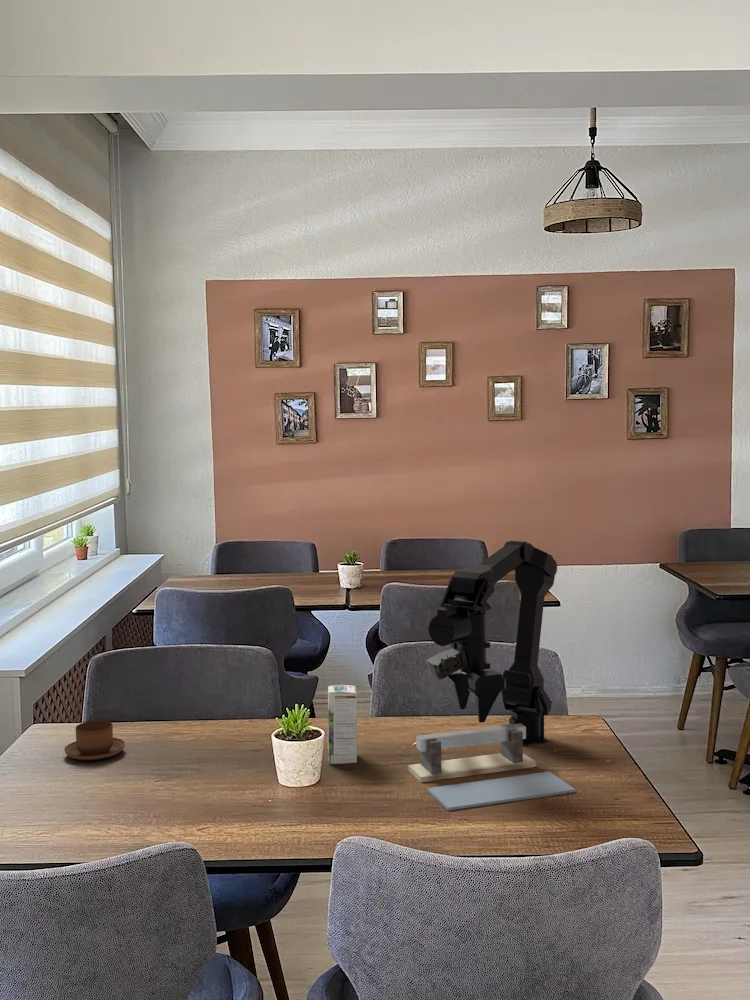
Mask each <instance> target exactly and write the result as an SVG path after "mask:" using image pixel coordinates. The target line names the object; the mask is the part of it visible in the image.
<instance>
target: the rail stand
mask: <svg viewBox="0 0 750 1000" xmlns="http://www.w3.org/2000/svg"><path fill="white" fill-rule="evenodd" d="M503 725H511V724H509V723H505V724H501V725H500V726H503ZM427 734H432V733H422V734H420V735H427ZM429 746H430V751H424V752H421V751H420V763H416V764H415V763H414V764H408V765H407V771H408V772H409V773H410V774H411V775H412V776H414V778H416V780H418V781H419V782H420V783H425V782H426V783H427V782H432V781H433V782H434V781H439V780H440V781H441V780H448V779H449V780H450V779H456V778H463V777H470V776H471V777H472V776H477V775H486V774H492V773H493V774H494V773H500V772H507V771H515V770H521V769H529V768H531V769H532V768H536V767H537V762H536V760H534V759H533V758H531V757H530V756H528V755H527V754H525V753H524V748H523V747H524V745H523V732H522V731H512V732H511V741H504V742H500V752H499V753H494V754H493V753H492V754H484V755H478V756H470V757H469V756H468V757H462V758H454V759H446V760H442V749H441V741H439V740H438V741H430V742H429Z"/></svg>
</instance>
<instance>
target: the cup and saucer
mask: <svg viewBox="0 0 750 1000" xmlns="http://www.w3.org/2000/svg"><path fill="white" fill-rule="evenodd" d="M113 727H114V726H113V723H112V722H110V721H108V720H91V721H86V722H82V723H79V724H77V725H76V726H75V741H73V742H71V743H69V744H67V745H66V746H65V747H64V753H65V755H67V756H68V757H69V758H71V759H74V760H80V761H98V760H104V759H107V758H111V757H114V756H115V755H118V754H120V752H122V750H124V748H125V746H126V743H125V740H122V739H121V738H117V737H114V732H113V731H114V729H113Z"/></svg>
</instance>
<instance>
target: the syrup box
mask: <svg viewBox="0 0 750 1000" xmlns="http://www.w3.org/2000/svg"><path fill="white" fill-rule="evenodd" d="M357 695H358V693H357V687H356V685H348V684H336V685H335V684H334V685H329V686H328V687H327V759H328V760H327V761H328V764H329V765H341V764H342V765H343V764H356V763H358V696H357Z"/></svg>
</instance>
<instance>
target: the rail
mask: <svg viewBox="0 0 750 1000" xmlns="http://www.w3.org/2000/svg"><path fill="white" fill-rule="evenodd" d="M502 725H503V726H501V725H495V726H488V727H487V726H486V727H477V728H472V729H471V728H470V729H461V730H455V731H445V732H438V733H437V732H436V733H431V734H429V733H426V734H427V735H421V734H420V735H419V734H418V735H416V742H415V743H416V749H417V750H418V751H419V752H420V753H421V752H424V751H430V746H429V742H430V741H438V740H439V741H441V750H447V749H455V748H462V747H463V748H464V747H472V746H478V745H487V744H495V743H501V742H504V741H511V732H512V731H522V732H523V739H526V727H525V726H524V725H522V724H521V723H519V724H511V725H505V724H502Z"/></svg>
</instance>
